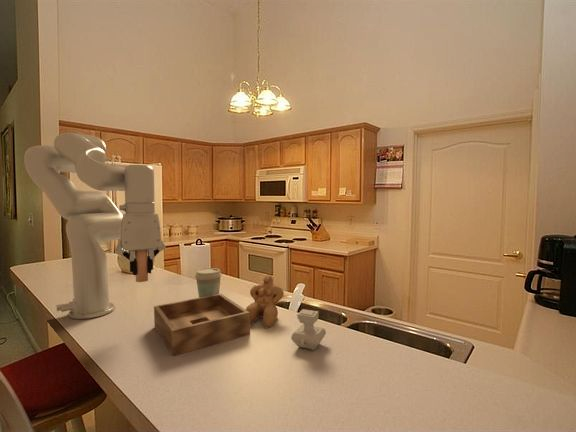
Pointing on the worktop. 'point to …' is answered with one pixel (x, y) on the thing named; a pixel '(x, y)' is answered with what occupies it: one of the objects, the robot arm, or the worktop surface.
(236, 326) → the bore box
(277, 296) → the figurine
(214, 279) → the coffee cup
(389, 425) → the worktop surface
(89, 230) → the robot arm
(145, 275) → the peg
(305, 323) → the stamp
